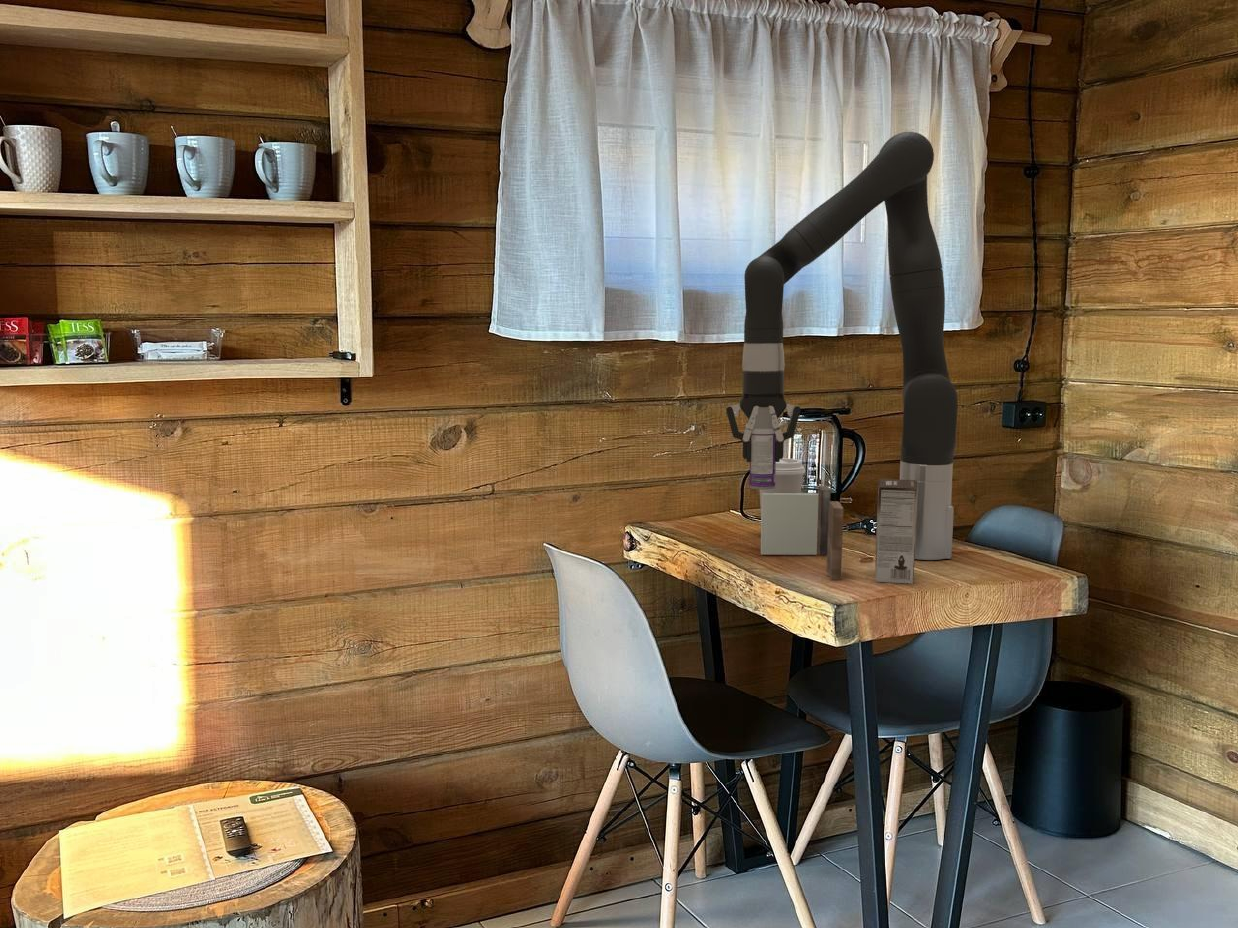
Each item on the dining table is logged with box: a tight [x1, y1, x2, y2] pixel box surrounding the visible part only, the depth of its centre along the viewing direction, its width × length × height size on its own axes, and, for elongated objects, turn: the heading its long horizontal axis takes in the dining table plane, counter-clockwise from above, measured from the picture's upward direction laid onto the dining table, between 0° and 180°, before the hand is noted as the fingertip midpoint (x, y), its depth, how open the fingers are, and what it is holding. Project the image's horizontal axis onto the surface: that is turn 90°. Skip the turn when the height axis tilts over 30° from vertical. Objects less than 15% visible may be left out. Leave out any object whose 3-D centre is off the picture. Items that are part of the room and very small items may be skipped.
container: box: [749, 407, 776, 491], centre depth 219 cm, size 5×5×15 cm
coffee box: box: [875, 478, 918, 585], centre depth 200 cm, size 9×6×16 cm
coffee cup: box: [759, 457, 806, 518], centre depth 233 cm, size 10×10×15 cm
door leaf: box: [760, 492, 819, 556], centre depth 216 cm, size 10×1×11 cm, turn 92°
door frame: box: [817, 485, 844, 581], centre depth 209 cm, size 2×24×12 cm, turn 176°
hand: (762, 461), depth 219 cm, fingers closed on container, 4 cm apart
